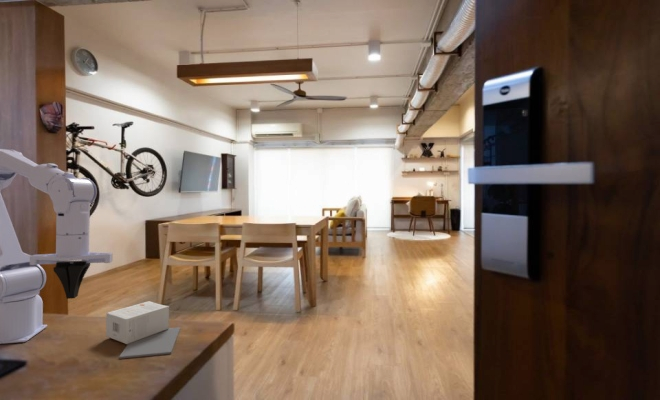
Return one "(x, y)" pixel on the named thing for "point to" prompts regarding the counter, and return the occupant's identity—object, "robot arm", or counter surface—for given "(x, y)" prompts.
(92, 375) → the counter surface
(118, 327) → the small box
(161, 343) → the gray mat
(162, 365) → the counter surface
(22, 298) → the robot arm
